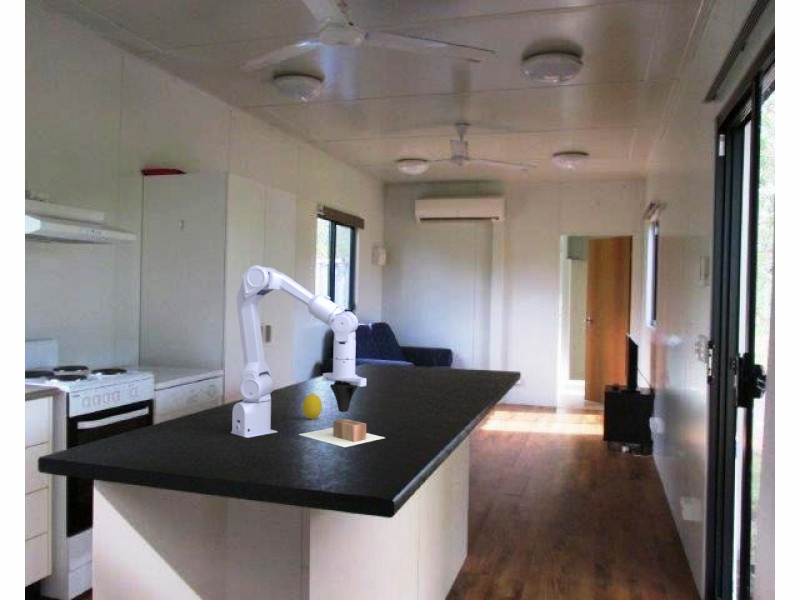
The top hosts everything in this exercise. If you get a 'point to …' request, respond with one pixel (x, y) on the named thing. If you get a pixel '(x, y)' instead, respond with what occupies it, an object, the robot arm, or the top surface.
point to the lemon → (312, 406)
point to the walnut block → (349, 430)
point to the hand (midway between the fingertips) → (343, 411)
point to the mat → (327, 436)
